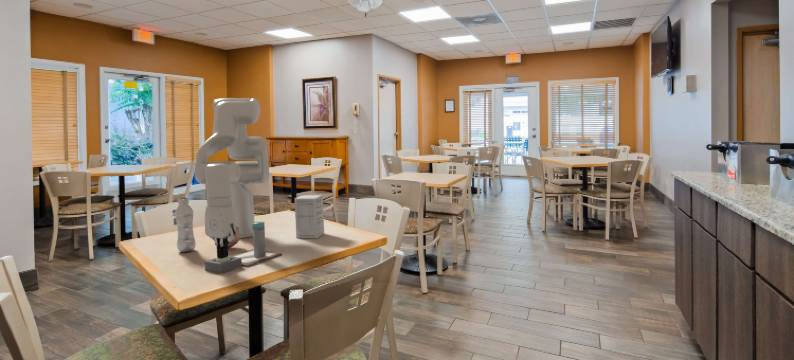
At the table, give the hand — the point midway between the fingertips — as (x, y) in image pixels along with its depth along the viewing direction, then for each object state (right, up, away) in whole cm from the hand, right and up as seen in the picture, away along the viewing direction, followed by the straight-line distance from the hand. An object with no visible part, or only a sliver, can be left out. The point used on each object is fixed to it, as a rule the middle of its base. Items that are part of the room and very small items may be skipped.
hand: (222, 257), depth 149 cm
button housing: (0, -4, +1) cm, 4 cm away
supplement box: (+20, +1, +44) cm, 48 cm away
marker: (+9, -2, +12) cm, 15 cm away
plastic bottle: (-22, -2, +22) cm, 31 cm away
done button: (0, -2, 0) cm, 3 cm away
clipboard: (+5, -2, +12) cm, 13 cm away
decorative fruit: (-8, -1, +25) cm, 27 cm away
